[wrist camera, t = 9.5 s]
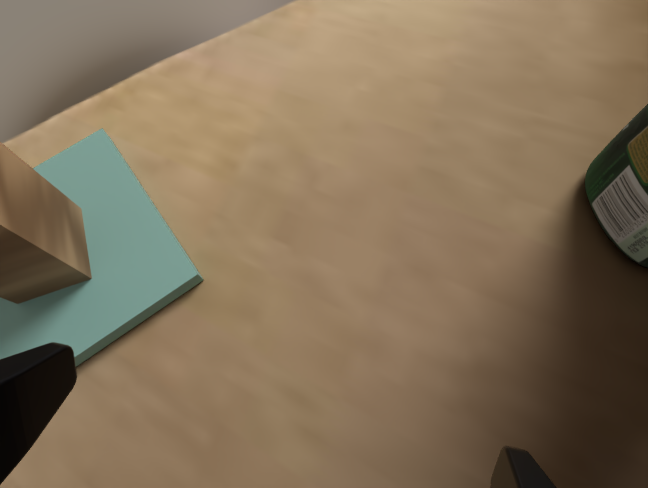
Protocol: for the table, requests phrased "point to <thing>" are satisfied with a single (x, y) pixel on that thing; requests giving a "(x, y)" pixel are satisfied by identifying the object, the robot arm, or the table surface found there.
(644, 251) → the coffee jar
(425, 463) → the table surface
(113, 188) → the teal board
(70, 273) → the walnut block
